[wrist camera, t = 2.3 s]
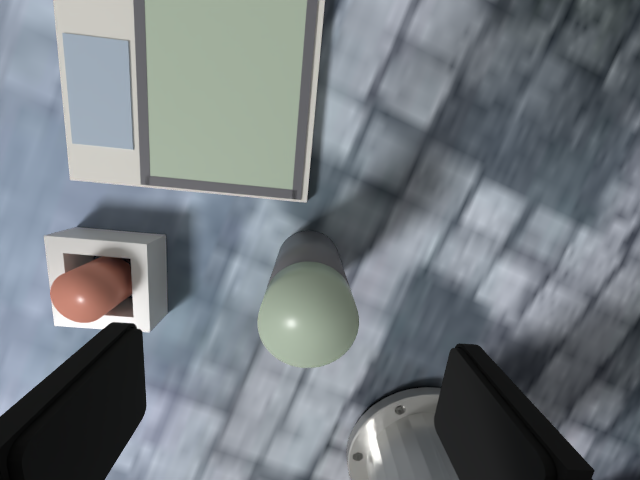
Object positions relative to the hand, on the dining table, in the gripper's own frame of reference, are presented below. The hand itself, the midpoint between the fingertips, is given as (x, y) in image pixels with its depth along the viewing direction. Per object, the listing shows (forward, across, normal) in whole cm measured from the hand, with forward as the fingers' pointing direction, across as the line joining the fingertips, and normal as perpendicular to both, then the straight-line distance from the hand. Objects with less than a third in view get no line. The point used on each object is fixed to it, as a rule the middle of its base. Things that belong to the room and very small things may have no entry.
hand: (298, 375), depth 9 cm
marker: (+13, 0, +1) cm, 13 cm away
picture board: (+13, +8, -11) cm, 19 cm away
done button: (+12, +13, +3) cm, 17 cm away
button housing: (+13, +12, +3) cm, 18 cm away
